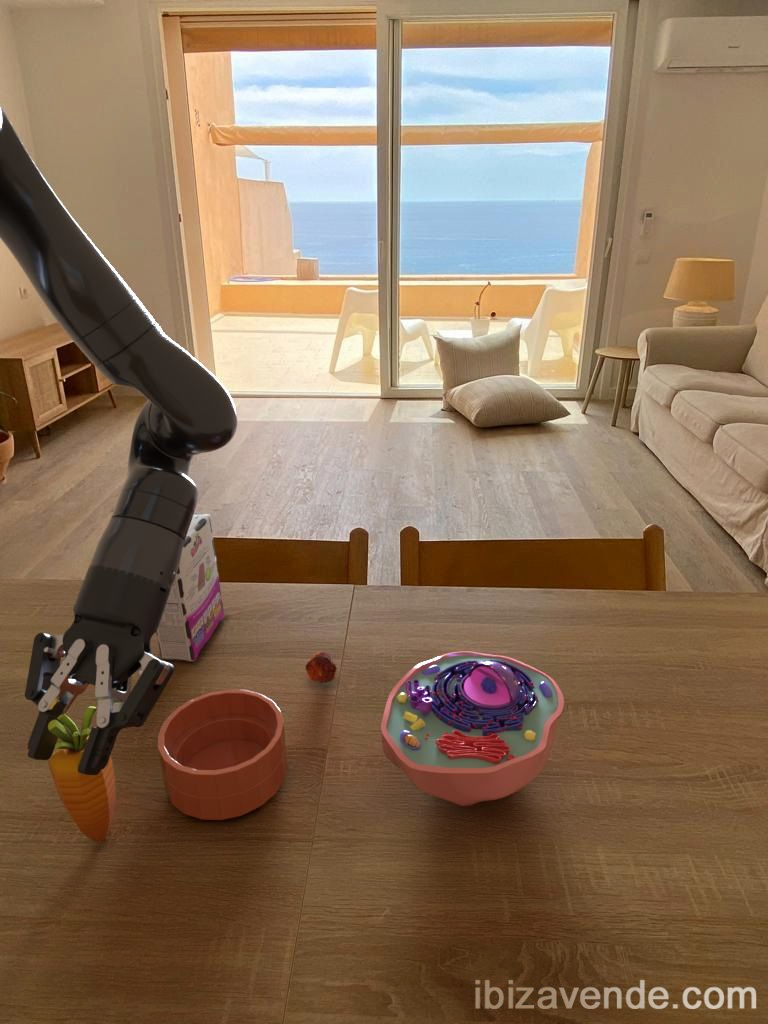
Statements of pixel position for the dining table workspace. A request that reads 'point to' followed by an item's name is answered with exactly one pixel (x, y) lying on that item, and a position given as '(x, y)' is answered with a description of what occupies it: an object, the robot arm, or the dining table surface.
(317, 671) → the meatball
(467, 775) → the cell model
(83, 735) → the carrot
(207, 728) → the mixing bowl
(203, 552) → the candy bar box
